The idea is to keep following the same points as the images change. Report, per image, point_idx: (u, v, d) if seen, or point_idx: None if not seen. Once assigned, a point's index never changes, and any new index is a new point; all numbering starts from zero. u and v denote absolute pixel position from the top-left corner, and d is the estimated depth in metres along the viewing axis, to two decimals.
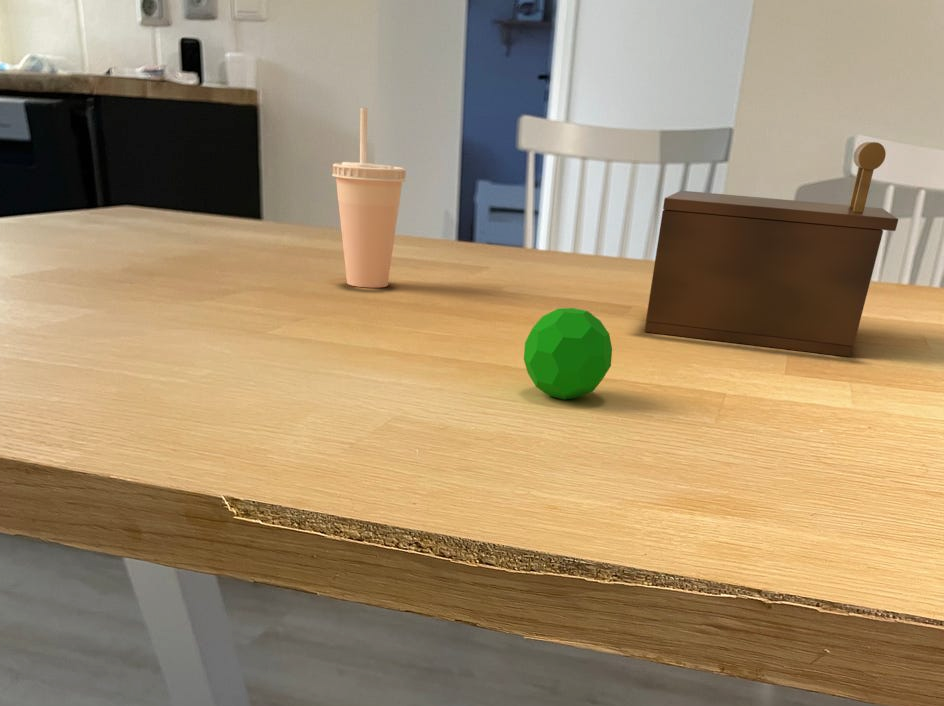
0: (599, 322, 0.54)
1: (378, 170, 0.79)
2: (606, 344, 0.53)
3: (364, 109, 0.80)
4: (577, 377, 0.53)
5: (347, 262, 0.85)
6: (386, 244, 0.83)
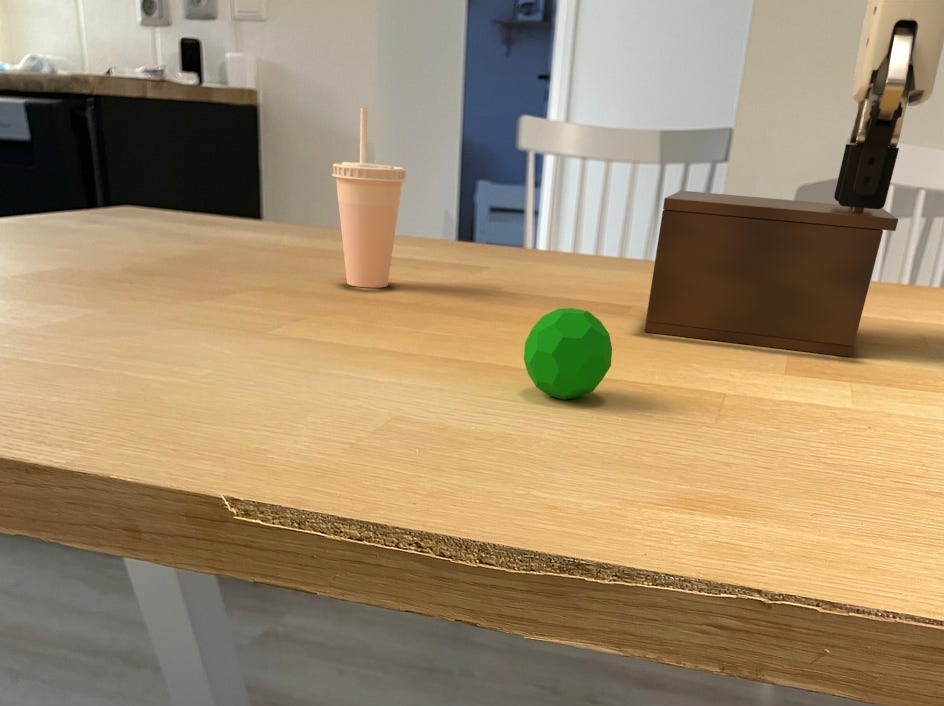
0: (599, 322, 0.54)
1: (378, 170, 0.79)
2: (606, 344, 0.53)
3: (364, 109, 0.80)
4: (577, 377, 0.53)
5: (347, 262, 0.85)
6: (386, 244, 0.83)
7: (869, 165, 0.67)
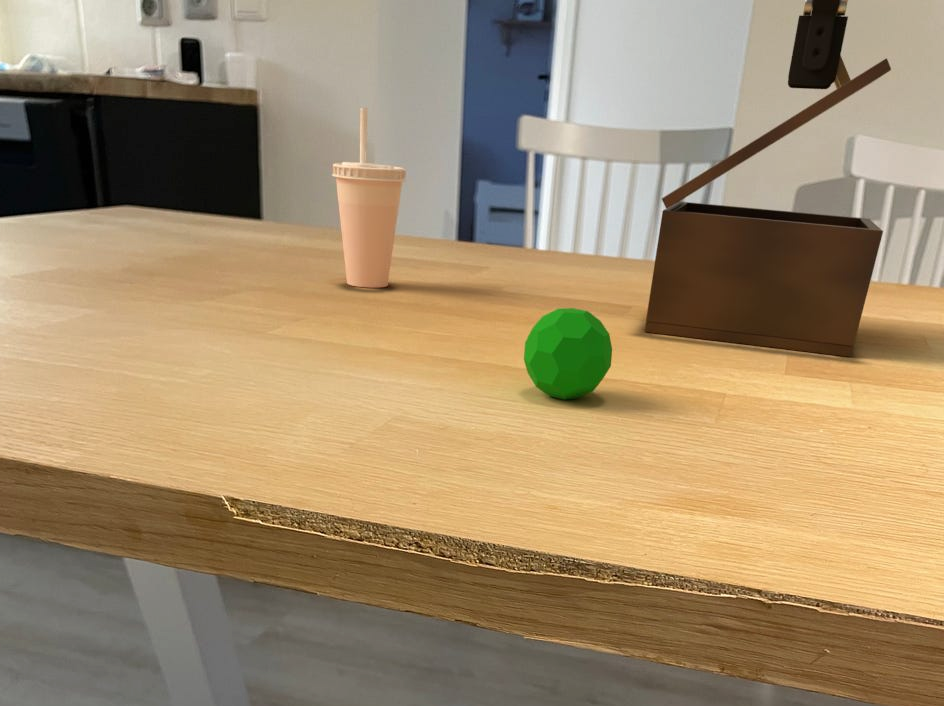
0: (599, 322, 0.54)
1: (378, 170, 0.79)
2: (606, 344, 0.53)
3: (364, 109, 0.80)
4: (577, 377, 0.53)
5: (347, 262, 0.85)
6: (386, 244, 0.83)
7: (817, 36, 0.65)
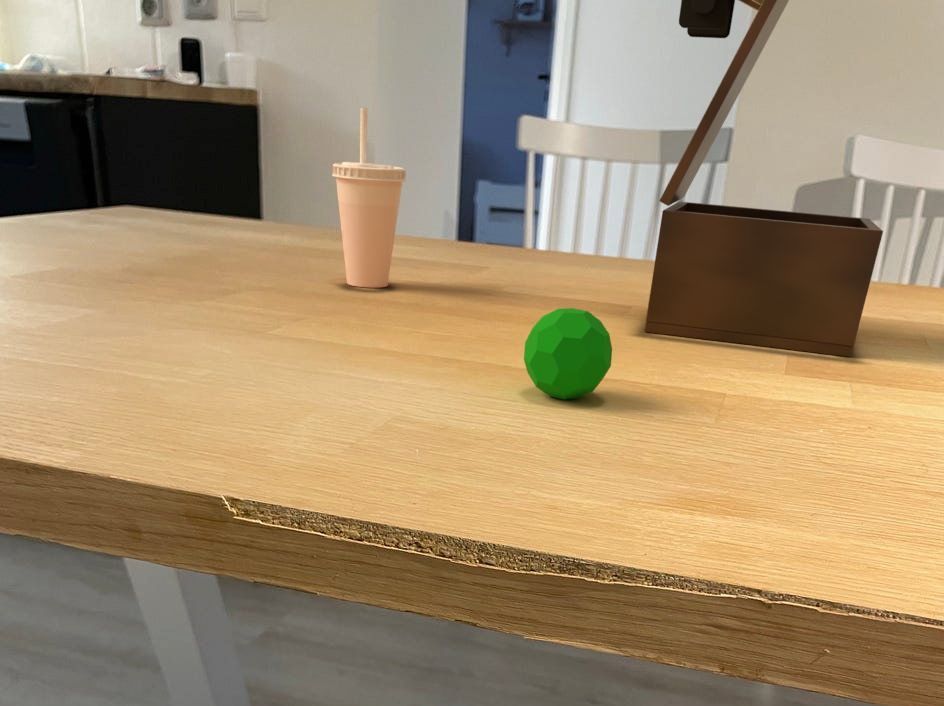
0: (599, 322, 0.54)
1: (378, 170, 0.79)
2: (606, 344, 0.53)
3: (364, 109, 0.80)
4: (577, 377, 0.53)
5: (347, 262, 0.85)
6: (386, 244, 0.83)
7: None
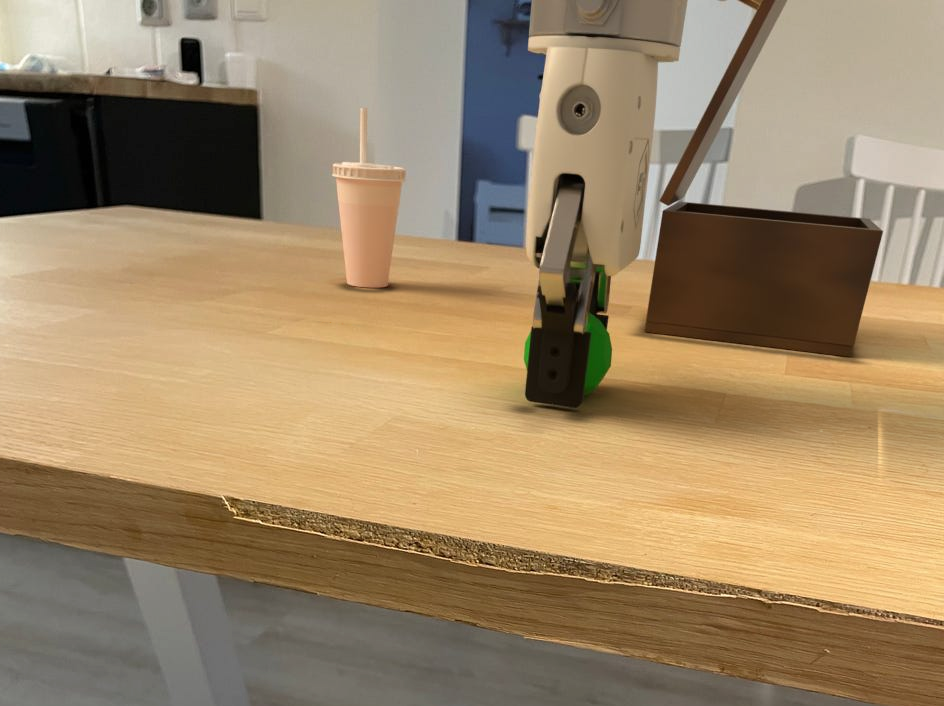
0: (599, 322, 0.54)
1: (378, 170, 0.79)
2: (606, 344, 0.53)
3: (364, 109, 0.80)
4: None
5: (347, 262, 0.85)
6: (386, 244, 0.83)
7: (552, 355, 0.51)
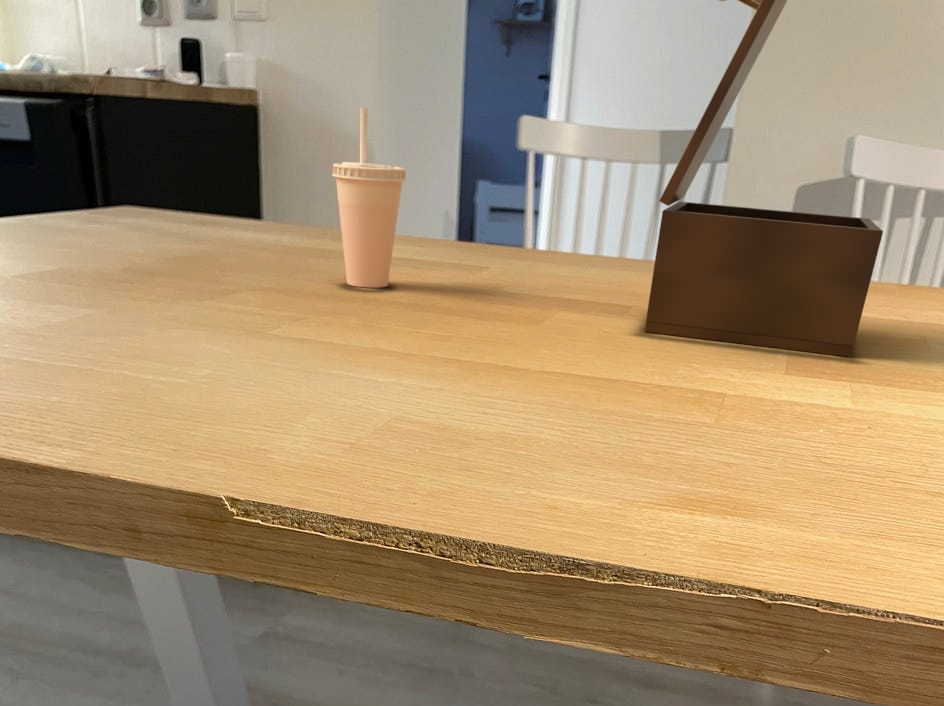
0: None
1: (378, 170, 0.79)
2: None
3: (364, 109, 0.80)
4: None
5: (347, 262, 0.85)
6: (386, 244, 0.83)
7: None
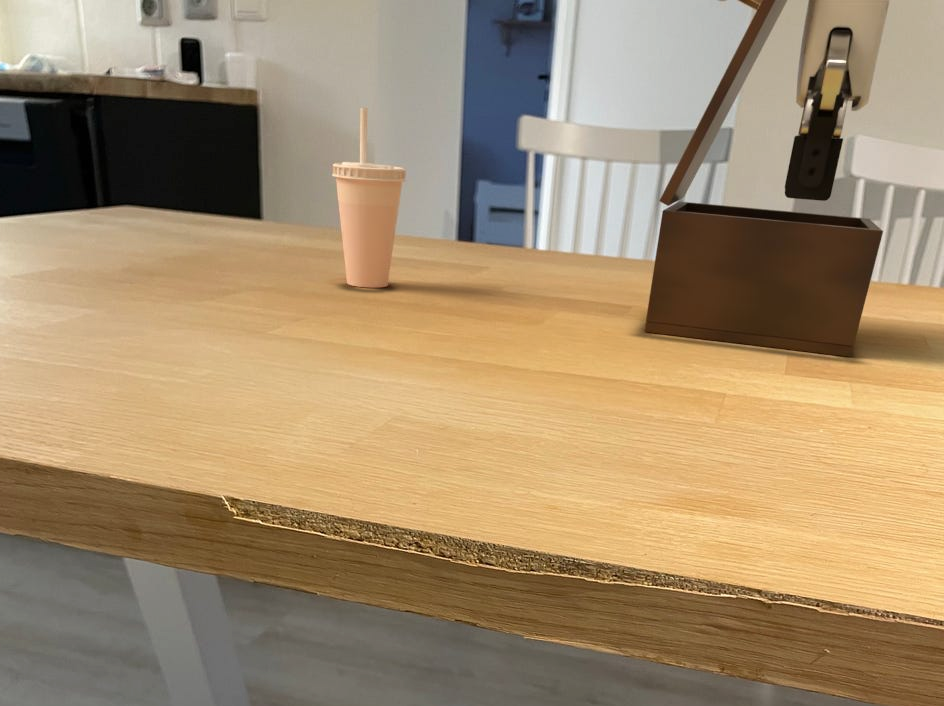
0: None
1: (378, 170, 0.79)
2: None
3: (364, 109, 0.80)
4: None
5: (347, 262, 0.85)
6: (386, 244, 0.83)
7: (813, 156, 0.67)
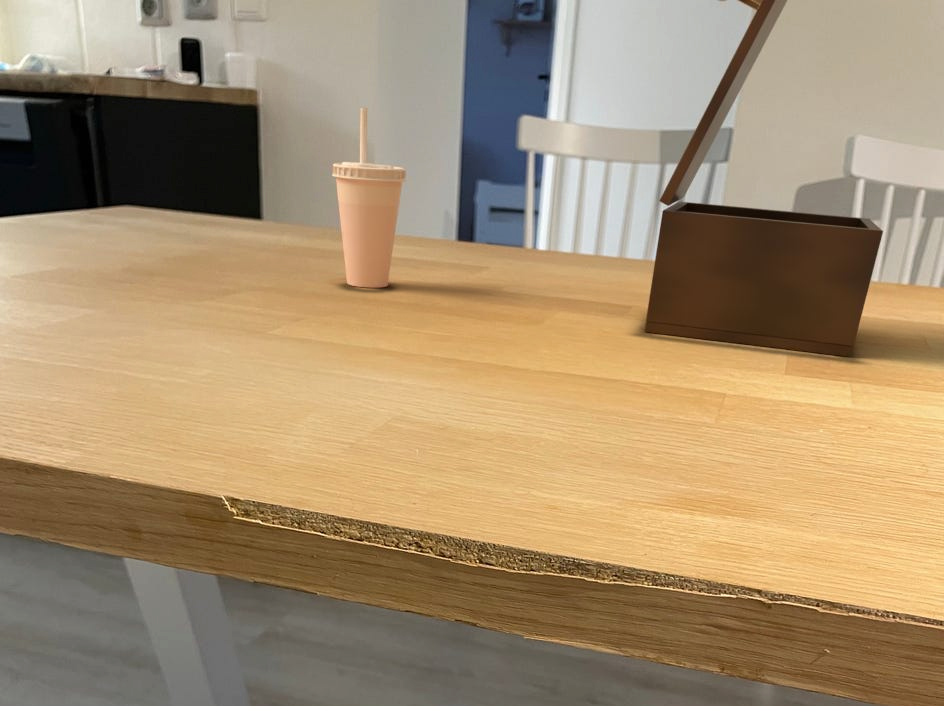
0: None
1: (378, 170, 0.79)
2: None
3: (364, 109, 0.80)
4: None
5: (347, 262, 0.85)
6: (386, 244, 0.83)
7: None
